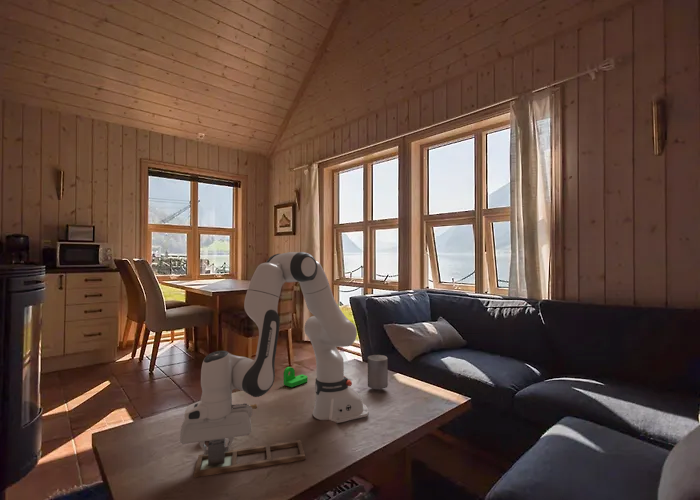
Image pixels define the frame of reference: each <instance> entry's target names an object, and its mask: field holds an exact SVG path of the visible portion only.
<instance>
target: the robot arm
mask: <svg viewBox="0 0 700 500" xmlns="http://www.w3.org/2000/svg"><path fill="white" fill-rule="evenodd" d="M323 268H324V267H322V265H321V263H320V262H319V261H317V260H316V259H315V258H314V255H312V254H311V253H308V252H304V251H299V252H297V251H287V252H283V253H276V254H273V255H271V256H270V257H269V258H268V259H267V260H266V262H262V263H260V264H258V265H257V267H256V269H255V270H254V273H253V274H252V277H251V279H250V281H249V285H248V287H247V290H246V294H245V297H244V303H243V305H244V306H243V307H244V312H245V313H246V315H247V316H248V317H249V318H250V319H251V320H252V321H253V322H254V323H255V324H256V326H257V329H258V340H257V346H256V353H255V358H254V359H252V358H249V357H246V356H239V355H235V354H232V353H230V352H229V351H227V350H217V351H213V352H211V353H208V354H207V355H206V356H205V357H204V359H203V361H202V364H201V369H200V370H201V371H200V387H201V391H202V392H201V396H200V400H199V401H195V402H194V403H191V404H189V405H188V406H187V407H186V409H185V412H184V419H183V420H182V421H183V422H182V423H181V425H180V426H181V427H180V431H179V442H180V443H181V444H182V445H186V444H194V443H195V444H196V443H199V447H200V448H201V449H202V451H203V454H204V455H208V446H207V445H206V442H209V441H210V440H217V439H224V438H225V439H228V442H227V443H225V452H230V450H231V446H232V444H233V442H234V438H238V437H245V436H249V435H250V434H251V432H252V422H251V417H252V415H253V409H252V407H251V406H250V405H251V404H248V403H245V402H244V403H240V404H239V403H235V404H233V393H232V392H233V391H234V390H240V391H243V392H245V394H247V395H250V396H251V397H254V398H259V397H262V396H264V395H265V394H267V392H269V391H270V389H271V388H272V387H273V384H274V383H275V376H276V371H275V370H276V369H275V368H276V367H275V365H276V364H275V361H276V353H277V348H278V347H277V346H278V341H279V333H280V316H279V314H278V306H279V299H280V296H281V292H282V287H283V286H284V284H285V283H297V282H298V283H299V286H300V290H301V293H302V295H303V298H304V300H305V304H306V307H307V310H308V312H310V313H311V314H312V316H310V317H308V318H307V319H306V321H305V322H304V323H305V324H304V328H303V329H304V334H305V335H306V336H307V338H308V339H309V341H310V343H311V345H312V349H313V352H314V355H315V356H314V357H315V365H316V366H315V367H316V378H315V381H314V382H315V383H314V388H315V389H314V390H315V400H314V401H315V403H314V407H313V411H312V416H313V417H314V418H315V419H317V420H320V421H327V420H329V421H332V422H335V423H336V424H338V423H344V422H347V421H352V420H356V419H360V418H364V417H368V416H369V408H368V407H367V405H366V404H364V403H363V398H362V396H361V395H360V394H359V392H358V391H356V390H355V389H354V388H352V387H351V386H352V384H353V383H352V381H351V379H348V377H346V376H345V373H344V371H345V370H344V366H345V364H344V358H343V356H342V354H341V353H340V351H339V350H338V348H341V347H343V348H346V347H350V346H352V345H353V344H354V343H355V341H356V338H357V335H358V332H357V331H358V330H357V328H356V325H355V323H353V322H352V321H350V320H349V318H348V317H346V315H345V314H344V313H343V311H342V310H341V308H340V307H339V305H338V303H337V302H336V299H335V296H334V295H333V291H332V289H331V286H330V283H329V279H328V277H327V275H326V272H325V270H324V269H323ZM247 406H248V407H247Z"/></svg>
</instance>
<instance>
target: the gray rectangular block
mask: <svg viewBox="0 0 700 500" xmlns="http://www.w3.org/2000/svg"><path fill="white" fill-rule="evenodd" d="M225 444H226V438H224V439H217V440H210V441H208V444H207V447H208V466H211V465H218V464H224V462H225Z"/></svg>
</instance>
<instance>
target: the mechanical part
mask: <svg viewBox="0 0 700 500" xmlns="http://www.w3.org/2000/svg"><path fill="white" fill-rule="evenodd" d="M295 371H296V370H295V369H294V367H292V366H287V367H286V368H285V369H284V371H283V385H284V386H287V387H289V388H293V387H297V386H299V385H302V384H305V383H307V382H308V375H305V374H298V375H296V372H295Z"/></svg>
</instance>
